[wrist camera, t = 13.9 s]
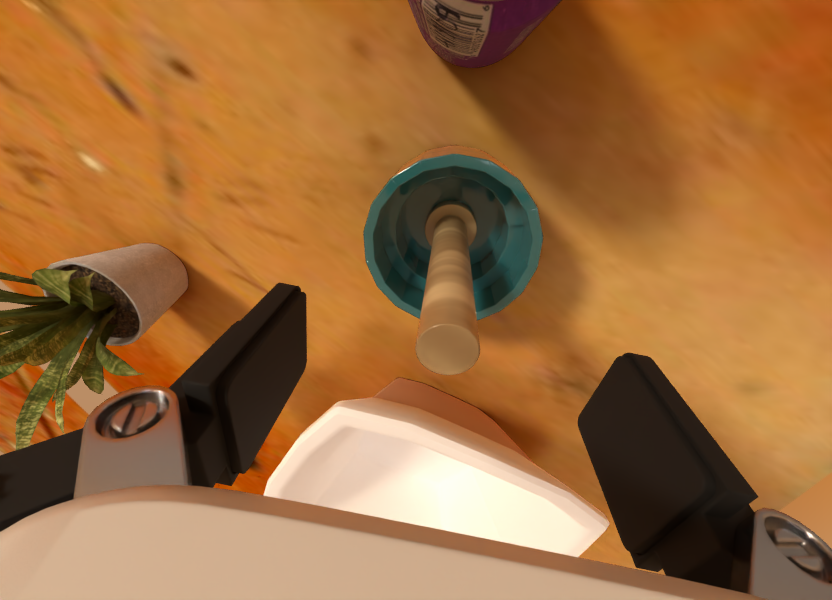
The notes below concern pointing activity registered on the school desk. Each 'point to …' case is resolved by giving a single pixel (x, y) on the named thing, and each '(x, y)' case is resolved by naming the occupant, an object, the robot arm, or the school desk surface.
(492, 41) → the beverage can
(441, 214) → the muddler
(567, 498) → the bowl
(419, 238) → the mixing bowl
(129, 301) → the house plant
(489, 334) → the school desk surface
